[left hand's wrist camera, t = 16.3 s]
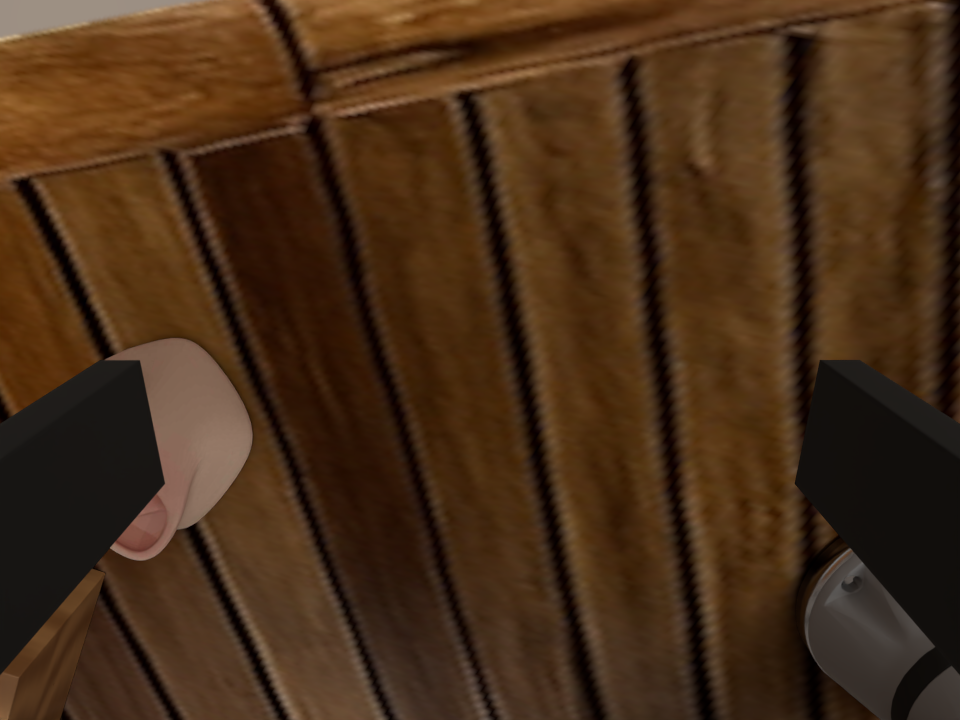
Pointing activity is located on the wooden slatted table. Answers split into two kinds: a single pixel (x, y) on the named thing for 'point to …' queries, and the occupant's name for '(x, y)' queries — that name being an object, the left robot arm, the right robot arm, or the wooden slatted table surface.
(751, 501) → the wooden slatted table surface
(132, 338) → the wooden slatted table surface
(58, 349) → the wooden slatted table surface
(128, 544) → the anatomical model
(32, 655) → the bar
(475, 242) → the wooden slatted table surface
